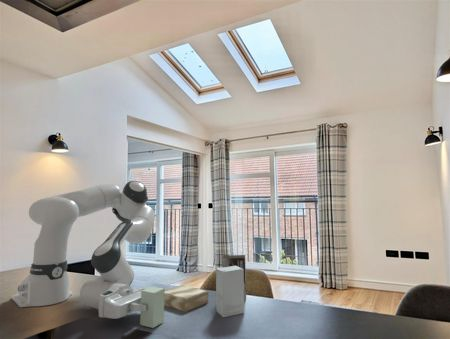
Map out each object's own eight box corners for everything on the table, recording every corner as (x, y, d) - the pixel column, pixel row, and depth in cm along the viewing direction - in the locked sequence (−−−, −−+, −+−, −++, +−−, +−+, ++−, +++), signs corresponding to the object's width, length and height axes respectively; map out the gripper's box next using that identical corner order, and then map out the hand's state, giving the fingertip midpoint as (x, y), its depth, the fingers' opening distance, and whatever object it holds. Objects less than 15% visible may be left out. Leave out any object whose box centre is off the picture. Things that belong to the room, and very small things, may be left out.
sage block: (140, 324, 89) (141, 290, 90) (150, 319, 94) (151, 286, 95) (153, 328, 87) (154, 292, 88) (163, 321, 92) (164, 288, 93)
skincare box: (236, 308, 104) (236, 265, 106) (245, 314, 99) (244, 268, 100) (215, 312, 101) (215, 267, 102) (222, 318, 95) (222, 270, 97)
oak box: (158, 304, 109) (158, 291, 110) (181, 296, 119) (181, 284, 119) (185, 312, 101) (185, 299, 101) (208, 303, 110) (208, 290, 111)
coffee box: (246, 296, 118) (246, 254, 120) (245, 301, 111) (245, 257, 113) (223, 295, 119) (223, 254, 121) (221, 300, 112) (221, 257, 114)
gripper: (141, 299, 106) (173, 304, 100) (94, 319, 88) (129, 327, 82) (142, 280, 107) (173, 285, 101) (95, 297, 88) (130, 304, 82)
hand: (153, 304), depth 91 cm, fingers closed on sage block, 5 cm apart
